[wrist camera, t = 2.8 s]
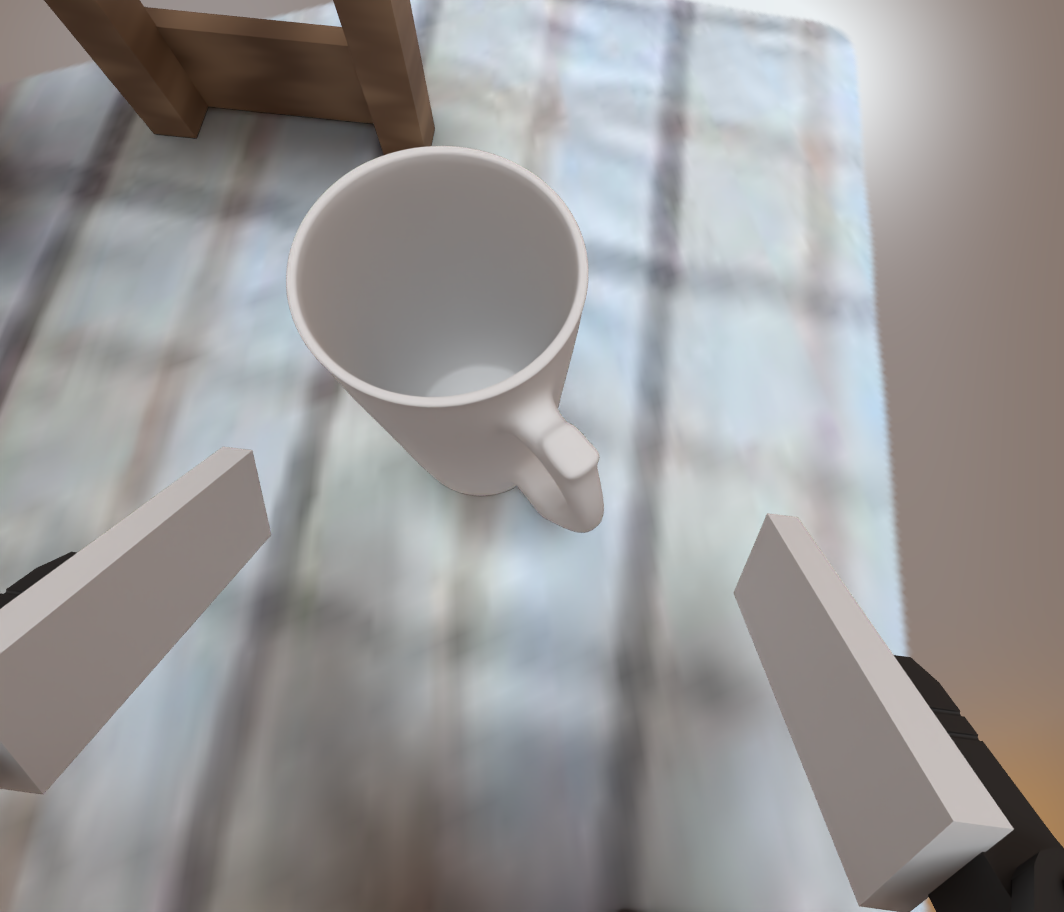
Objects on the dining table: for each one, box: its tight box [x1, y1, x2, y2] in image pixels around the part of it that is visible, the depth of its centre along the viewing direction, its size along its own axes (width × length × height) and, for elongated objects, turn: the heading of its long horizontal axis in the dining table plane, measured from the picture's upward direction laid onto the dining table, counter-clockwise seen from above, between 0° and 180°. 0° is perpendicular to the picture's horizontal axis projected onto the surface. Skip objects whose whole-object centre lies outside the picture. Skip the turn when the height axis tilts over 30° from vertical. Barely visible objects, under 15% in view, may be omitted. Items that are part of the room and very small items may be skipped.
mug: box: [286, 146, 604, 533], centre depth 16 cm, size 10×7×12 cm, turn 37°
